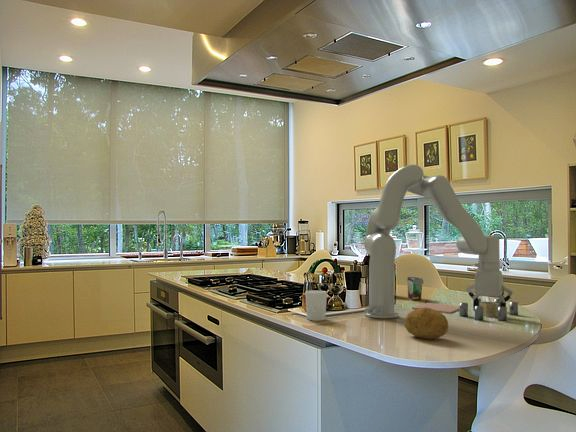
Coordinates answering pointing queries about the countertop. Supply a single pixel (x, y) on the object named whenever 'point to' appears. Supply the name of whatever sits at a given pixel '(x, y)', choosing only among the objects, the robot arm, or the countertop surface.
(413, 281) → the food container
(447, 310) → the terracotta mat
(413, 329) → the potato
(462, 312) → the standoff field
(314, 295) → the white cup
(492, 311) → the brass nut
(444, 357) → the countertop surface
